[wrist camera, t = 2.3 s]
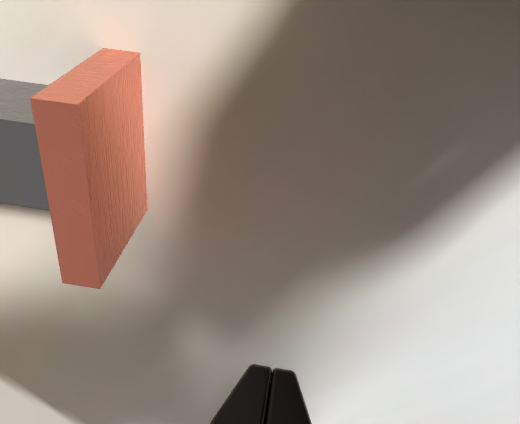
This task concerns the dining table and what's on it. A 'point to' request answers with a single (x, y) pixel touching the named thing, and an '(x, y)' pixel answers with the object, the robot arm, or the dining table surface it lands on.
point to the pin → (79, 159)
